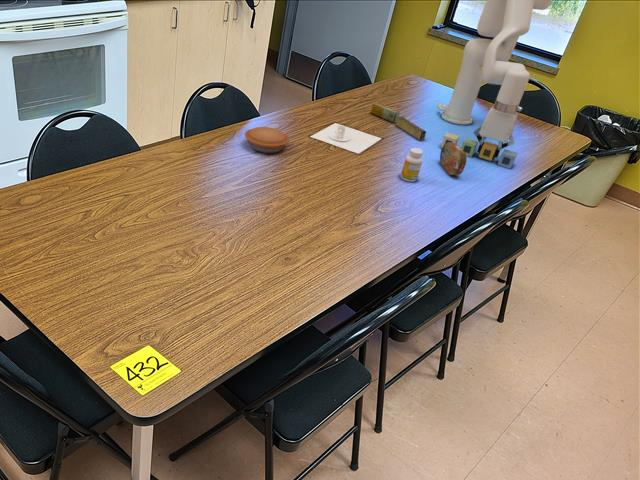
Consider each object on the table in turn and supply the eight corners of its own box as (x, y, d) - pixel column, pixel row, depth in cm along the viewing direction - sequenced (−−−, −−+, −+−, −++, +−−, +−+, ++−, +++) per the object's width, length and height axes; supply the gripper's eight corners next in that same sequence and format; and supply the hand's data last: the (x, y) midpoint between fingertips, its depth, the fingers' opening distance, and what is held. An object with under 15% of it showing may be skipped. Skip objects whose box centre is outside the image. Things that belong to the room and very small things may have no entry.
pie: (292, 156, 193) (294, 142, 190) (247, 155, 190) (249, 141, 187) (282, 138, 205) (284, 124, 202) (240, 136, 202) (241, 123, 199)
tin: (437, 160, 202) (444, 137, 197) (445, 160, 202) (453, 138, 197) (452, 179, 190) (461, 156, 185) (461, 180, 191) (470, 156, 186)
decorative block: (424, 140, 216) (426, 131, 214) (419, 140, 215) (421, 131, 213) (400, 124, 227) (402, 116, 225) (395, 125, 226) (397, 116, 224)
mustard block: (478, 157, 206) (482, 145, 203) (481, 153, 209) (485, 141, 207) (491, 161, 205) (495, 148, 202) (493, 156, 208) (498, 145, 205)
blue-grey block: (497, 164, 204) (502, 152, 201) (499, 160, 207) (504, 148, 204) (510, 168, 202) (515, 156, 199) (512, 164, 206) (517, 152, 203)
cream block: (440, 147, 212) (444, 135, 209) (443, 144, 215) (447, 132, 212) (452, 151, 210) (456, 139, 207) (455, 147, 213) (459, 135, 210)
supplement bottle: (400, 173, 190) (408, 145, 184) (417, 176, 190) (425, 149, 184) (399, 179, 186) (407, 151, 180) (416, 183, 185) (424, 155, 179)
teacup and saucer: (335, 131, 215) (337, 120, 212) (354, 137, 211) (356, 127, 209) (324, 137, 209) (326, 126, 206) (343, 144, 205) (346, 133, 203)
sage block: (458, 153, 209) (463, 141, 206) (462, 149, 212) (466, 137, 210) (471, 157, 207) (475, 145, 205) (474, 153, 211) (478, 141, 208)
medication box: (397, 122, 229) (400, 112, 227) (393, 123, 227) (397, 113, 225) (373, 112, 235) (376, 102, 233) (369, 112, 233) (372, 102, 231)
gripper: (532, 110, 195) (511, 160, 206) (483, 97, 201) (466, 146, 213) (528, 116, 190) (507, 167, 201) (478, 103, 196) (460, 152, 207)
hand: (486, 156), depth 207 cm, fingers closed on mustard block, 4 cm apart
